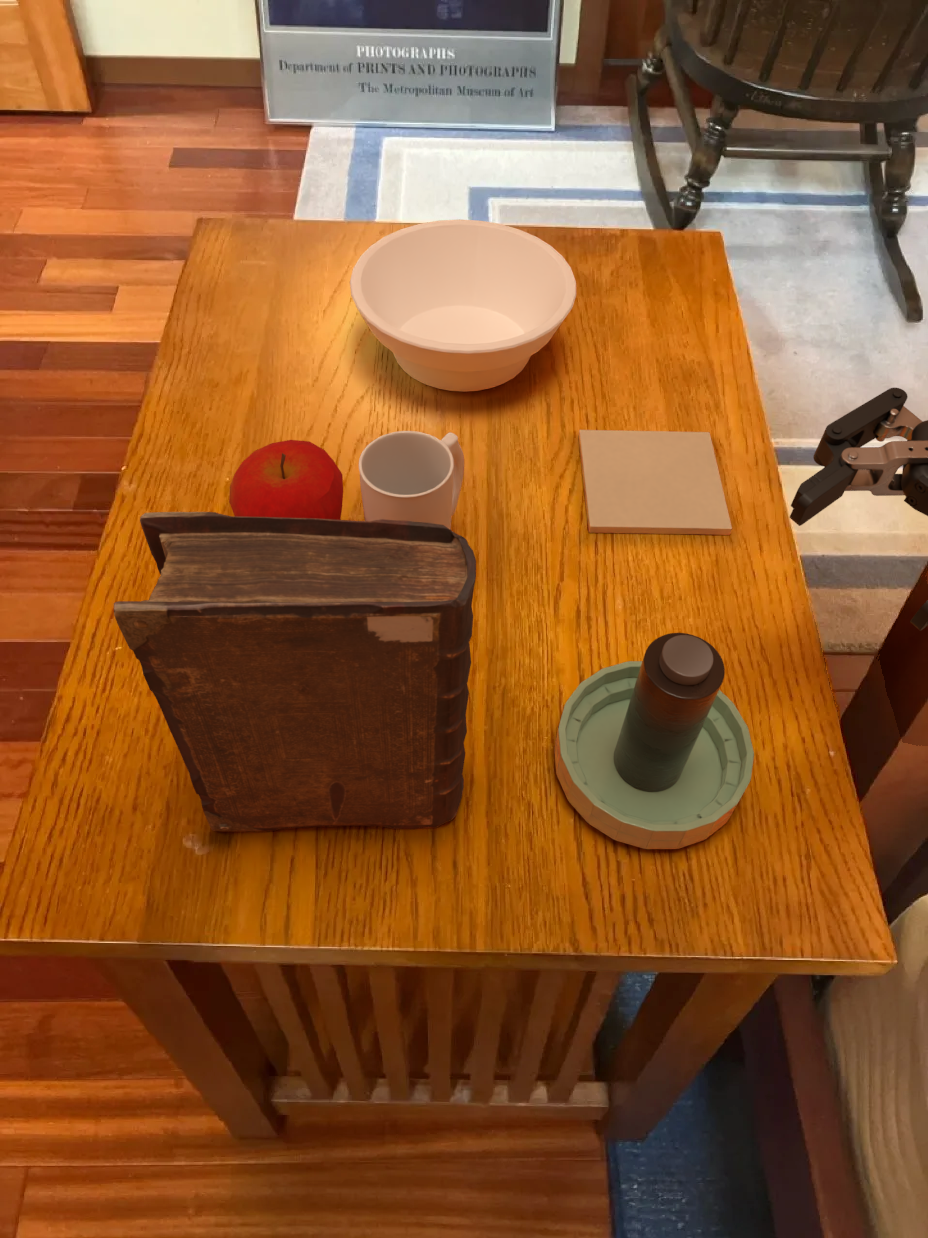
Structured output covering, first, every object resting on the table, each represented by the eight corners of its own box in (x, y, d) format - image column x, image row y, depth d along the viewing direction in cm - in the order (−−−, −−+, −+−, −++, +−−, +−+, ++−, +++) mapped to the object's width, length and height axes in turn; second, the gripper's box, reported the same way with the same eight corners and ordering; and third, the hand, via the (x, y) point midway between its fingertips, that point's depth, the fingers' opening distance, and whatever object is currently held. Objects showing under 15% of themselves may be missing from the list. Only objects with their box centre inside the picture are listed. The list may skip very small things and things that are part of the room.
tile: (707, 438, 86) (709, 431, 85) (730, 535, 79) (732, 528, 78) (578, 435, 86) (579, 429, 85) (588, 532, 78) (589, 526, 78)
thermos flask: (694, 754, 65) (742, 647, 55) (662, 805, 63) (706, 704, 52) (634, 719, 67) (670, 609, 56) (600, 768, 64) (632, 662, 54)
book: (467, 765, 65) (481, 521, 45) (458, 861, 61) (468, 639, 41) (232, 743, 66) (142, 492, 46) (206, 837, 61) (95, 606, 41)
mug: (415, 618, 73) (411, 511, 63) (351, 576, 75) (338, 467, 65) (492, 543, 78) (500, 433, 68) (430, 506, 80) (429, 395, 70)
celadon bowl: (769, 746, 66) (784, 721, 64) (687, 891, 60) (699, 870, 57) (611, 658, 71) (618, 631, 68) (518, 784, 64) (522, 760, 61)
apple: (297, 507, 79) (277, 398, 70) (373, 552, 77) (364, 444, 67) (225, 569, 75) (195, 462, 66) (304, 618, 72) (283, 514, 63)
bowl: (333, 408, 87) (324, 334, 81) (380, 280, 100) (376, 207, 93) (556, 436, 86) (566, 363, 79) (575, 303, 98) (585, 230, 92)
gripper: (975, 303, 54) (776, 437, 49) (1203, 453, 48) (1001, 621, 44) (924, 395, 60) (744, 520, 56) (1119, 537, 54) (936, 690, 50)
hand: (857, 564), depth 50 cm, fingers open, 8 cm apart
